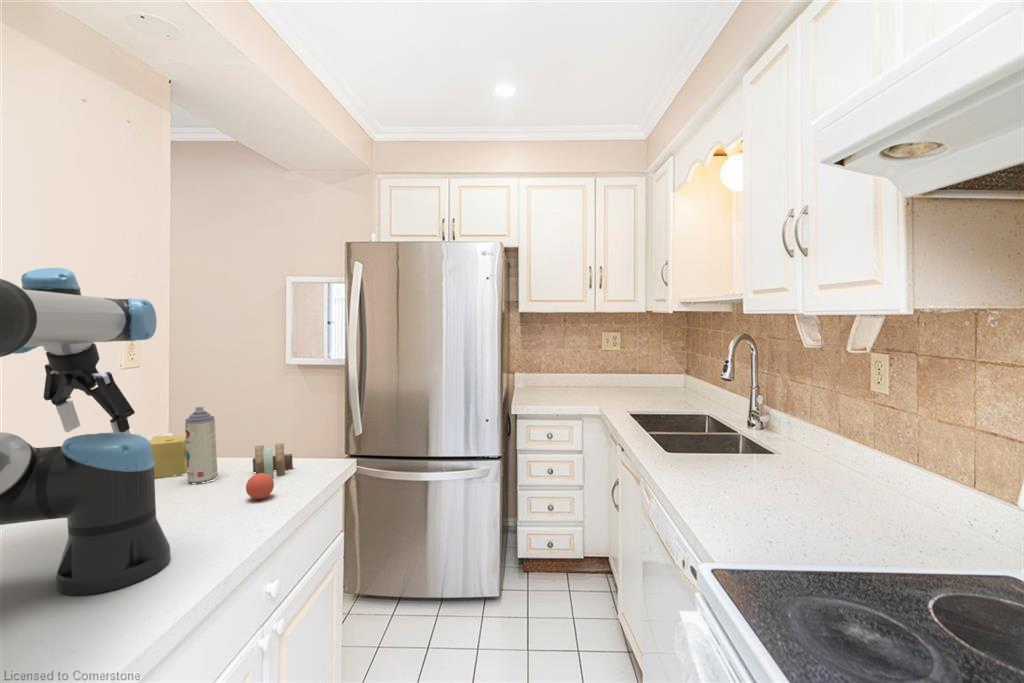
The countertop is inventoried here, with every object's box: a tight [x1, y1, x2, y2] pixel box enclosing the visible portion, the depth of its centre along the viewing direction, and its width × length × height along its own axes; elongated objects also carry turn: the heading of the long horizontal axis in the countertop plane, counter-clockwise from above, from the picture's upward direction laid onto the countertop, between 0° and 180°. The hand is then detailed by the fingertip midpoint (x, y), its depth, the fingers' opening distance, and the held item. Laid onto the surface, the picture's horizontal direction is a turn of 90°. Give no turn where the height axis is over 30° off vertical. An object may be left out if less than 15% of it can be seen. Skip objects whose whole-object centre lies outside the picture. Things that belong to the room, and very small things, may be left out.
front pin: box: [263, 447, 275, 479], centre depth 133 cm, size 2×2×8 cm
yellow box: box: [149, 435, 188, 479], centre depth 141 cm, size 10×11×10 cm
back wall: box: [252, 453, 294, 473], centre depth 141 cm, size 2×10×4 cm, turn 109°
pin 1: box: [254, 444, 265, 474], centre depth 135 cm, size 2×2×8 cm
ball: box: [245, 473, 275, 500], centre depth 118 cm, size 6×6×6 cm
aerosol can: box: [184, 406, 219, 484], centre depth 133 cm, size 7×7×20 cm
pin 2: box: [274, 443, 286, 477], centre depth 137 cm, size 2×2×8 cm
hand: (98, 435), depth 106 cm, fingers open, 13 cm apart
